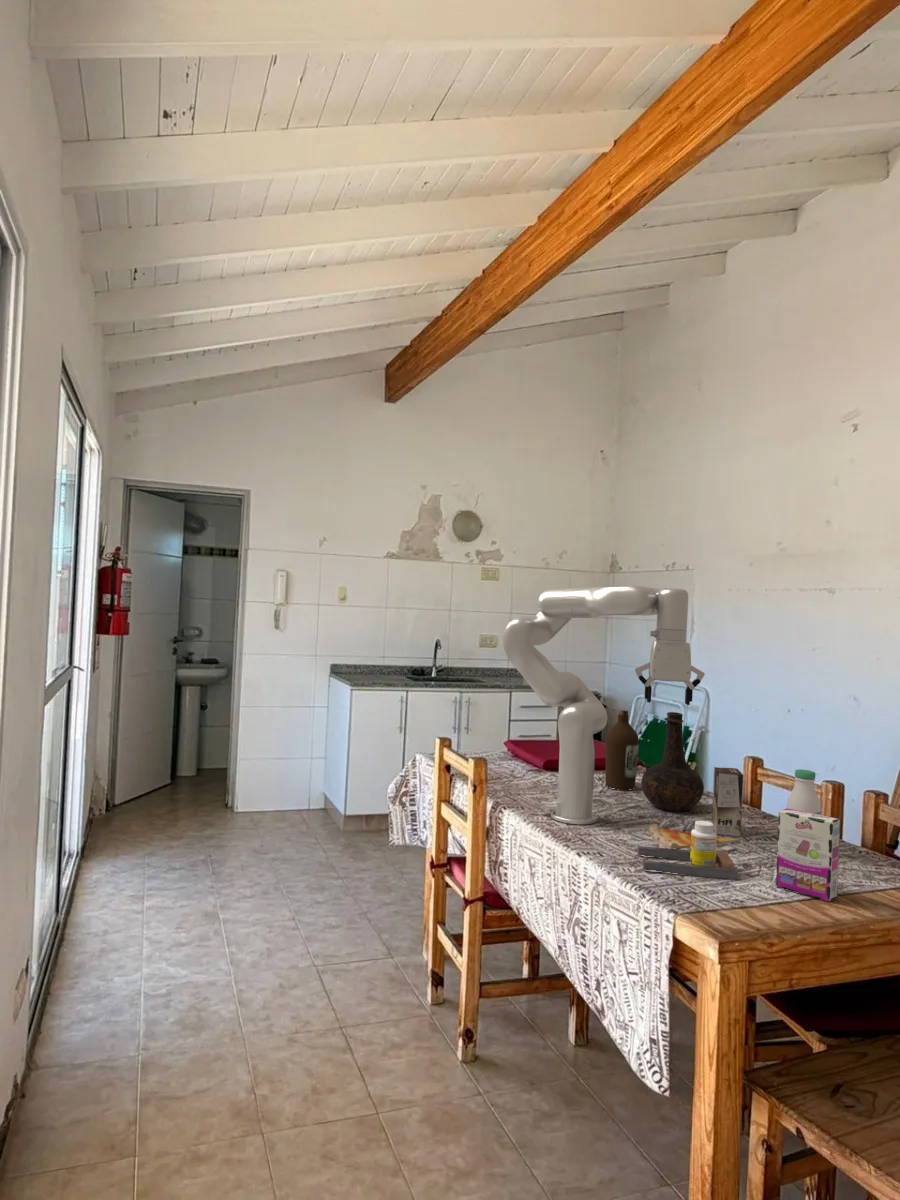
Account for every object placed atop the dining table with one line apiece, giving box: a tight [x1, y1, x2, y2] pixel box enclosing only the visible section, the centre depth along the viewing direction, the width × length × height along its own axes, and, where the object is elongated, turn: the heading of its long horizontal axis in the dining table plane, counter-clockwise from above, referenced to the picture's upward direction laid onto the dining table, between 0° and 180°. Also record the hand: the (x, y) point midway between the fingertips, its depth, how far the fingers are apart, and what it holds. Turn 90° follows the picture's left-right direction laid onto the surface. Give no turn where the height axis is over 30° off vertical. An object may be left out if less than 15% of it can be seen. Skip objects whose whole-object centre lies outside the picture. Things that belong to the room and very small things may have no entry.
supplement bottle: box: [689, 820, 718, 867], centre depth 176 cm, size 6×6×10 cm
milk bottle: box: [786, 769, 822, 815], centre depth 191 cm, size 8×8×20 cm
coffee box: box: [711, 766, 745, 837], centre depth 207 cm, size 9×6×16 cm
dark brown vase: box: [640, 711, 705, 812], centre depth 229 cm, size 18×18×28 cm
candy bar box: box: [775, 807, 841, 902], centre depth 164 cm, size 11×5×16 cm, turn 45°
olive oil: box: [604, 709, 640, 791], centre depth 252 cm, size 11×11×25 cm
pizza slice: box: [648, 823, 740, 849], centre depth 195 cm, size 16×22×2 cm
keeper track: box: [637, 845, 739, 880], centre depth 177 cm, size 20×12×3 cm, turn 83°
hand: (667, 703), depth 200 cm, fingers open, 9 cm apart
